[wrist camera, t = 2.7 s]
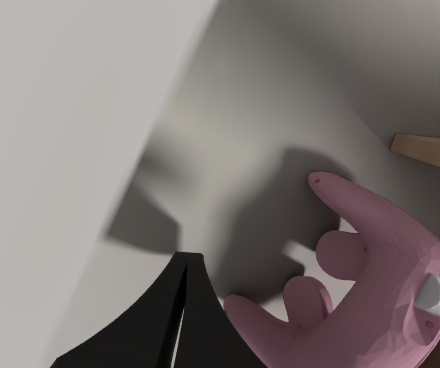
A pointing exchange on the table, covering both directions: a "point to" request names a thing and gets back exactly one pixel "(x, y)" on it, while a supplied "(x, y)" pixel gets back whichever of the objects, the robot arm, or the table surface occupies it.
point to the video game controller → (354, 291)
